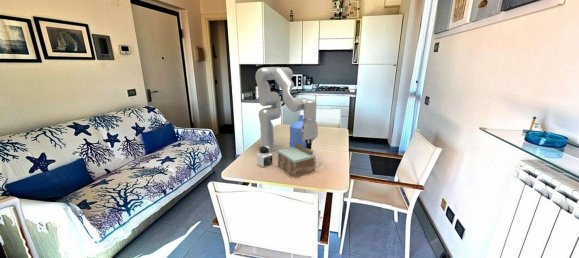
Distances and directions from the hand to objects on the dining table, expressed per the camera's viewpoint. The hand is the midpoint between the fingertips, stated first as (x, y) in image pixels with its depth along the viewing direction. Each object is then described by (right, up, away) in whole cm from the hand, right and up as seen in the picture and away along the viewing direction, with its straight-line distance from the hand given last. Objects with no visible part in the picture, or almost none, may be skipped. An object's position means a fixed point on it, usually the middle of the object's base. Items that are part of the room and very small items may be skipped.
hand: (308, 148), depth 149 cm
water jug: (-4, -5, +24) cm, 25 cm away
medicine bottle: (-28, -11, +4) cm, 30 cm away
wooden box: (-8, -13, -2) cm, 15 cm away
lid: (-8, -4, -4) cm, 10 cm away
